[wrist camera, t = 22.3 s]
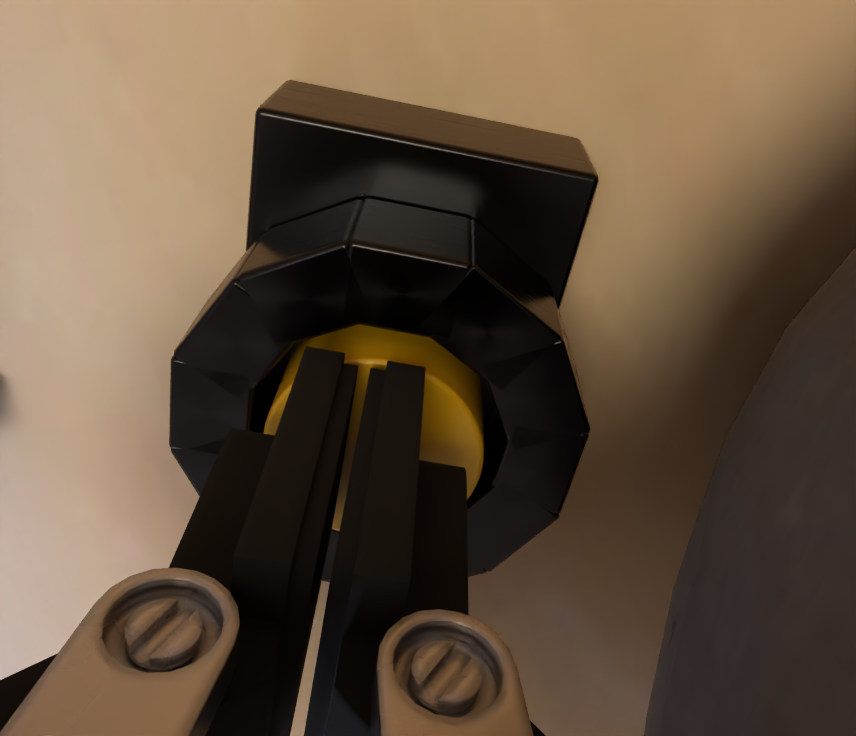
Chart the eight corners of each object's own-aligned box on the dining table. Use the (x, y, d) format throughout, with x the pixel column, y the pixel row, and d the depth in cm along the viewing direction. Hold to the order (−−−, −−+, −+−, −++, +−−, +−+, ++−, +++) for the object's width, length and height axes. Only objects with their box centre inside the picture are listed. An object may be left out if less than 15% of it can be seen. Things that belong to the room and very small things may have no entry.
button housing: (613, 144, 13) (667, 228, 10) (502, 502, 17) (512, 652, 14) (252, 70, 13) (172, 130, 9) (226, 455, 17) (165, 595, 13)
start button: (502, 324, 12) (508, 383, 10) (460, 483, 14) (459, 554, 12) (296, 284, 12) (271, 340, 10) (278, 452, 13) (254, 520, 12)
